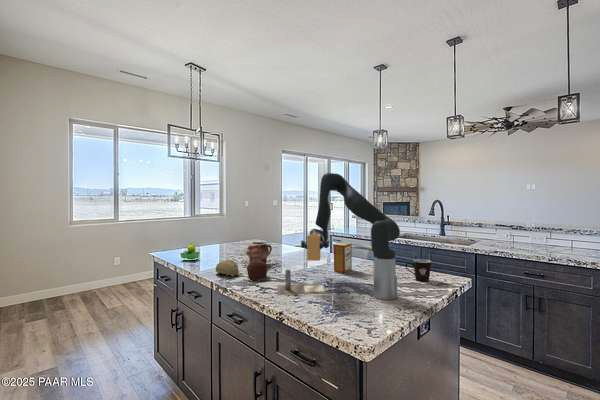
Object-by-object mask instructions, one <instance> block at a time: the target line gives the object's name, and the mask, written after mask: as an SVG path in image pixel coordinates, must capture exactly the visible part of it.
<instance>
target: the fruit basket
mask: <svg viewBox="0 0 600 400" xmlns="http://www.w3.org/2000/svg"><path fill="white" fill-rule="evenodd" d="M200 253H201V252H200V251H196V244H195V243H193V242H191V243H190V244H189V245H188V246H187V251H183V252H180V253H179V254H180V257H181V259H182V258H187V259H195V258H198V259H199V257H200Z"/></svg>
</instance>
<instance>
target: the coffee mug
mask: <svg viewBox="0 0 600 400" xmlns="http://www.w3.org/2000/svg"><path fill="white" fill-rule="evenodd" d="M412 260H413V263H412V262H406V263H405V268H406V269H407V271H408V272H410V273H412V274H413V275H414V278H415V281H417V282H420V283H428V282H429V281H430V274H431V267H432V260H431V259H423V258H416V259H412ZM409 264H410V265H412V266H413V268H414V269H413V270H414V271H411V270H410V268H408V267H407V266H408V265H409Z"/></svg>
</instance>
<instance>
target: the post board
mask: <svg viewBox="0 0 600 400" xmlns="http://www.w3.org/2000/svg"><path fill="white" fill-rule="evenodd" d="M284 271H285V272H284V274H285V275H284V277H285V278H284V279H285V280H284V281H285V282H284V283H285V284H277V287H276V296H280V295H281V296H283V295H285V296H286V295H290V296H291V295H294V296H295V295H326V294H328V292H327V290H326V288H325V284H324V283H314V284H313V283H312V284H309V283H308V284H307V283H306V284H291V282H292V281H291V278H292V276H291V271H292V270H291V269H289V268H288V269H287V268H285V270H284Z"/></svg>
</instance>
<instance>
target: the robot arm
mask: <svg viewBox="0 0 600 400" xmlns="http://www.w3.org/2000/svg"><path fill="white" fill-rule="evenodd" d="M319 187H320V189H319V203H318V210H317V214H316V219H315V226H317V227H319V228H321V229H322V230H321V229H318V228H312V229H311V230H310V231H309V234H320V250H322V249H328V248H329V247H330V240H329V228H328V227H329V223H330V218H331V213H332V212H331V205H330V202H329V195H330V192H333V191H334V192H337V193H339V194H340V195H341V196H342V197H343V201H344V204H345V206H346V208H347V209H348V210H349V211H350V212H351V213H352V214H354V216H356V217H357V218H359V219H363V221H366V222H369V223H370V224H372V225H371V227H370V241H371V242H370V243H371V250H372V253H373V297H375V298H376V299H379V300H385V301H387V300H388V301H390V300H394V299H398V275H396V274H397V273H396V251H395V250H394V249H391V248H390V246H389V242H392V241H395V240H398V238H399V236H400V234H401V231H400V226H398V223H397V222H396V221H395V220H393V219H391V218H390V217H389V216H387V215H386V214H384V213H383V212H382V211H380V210H379V209H378V208H377V207H376V206H374V205H373V204H372V202H370V201H369V200H368V199H367V198H365V196H363V195H362V194H361V193H359V192H358V191H357V190H356V188H354V187H353V186H352V185H351V184H350V183H348V181H347V180H346V179H345V177H344V176H342V175H341V174H339V173H334V172H326V173H324V174H322V177H321V179H320V186H319ZM300 246H301V248H302V249H303V248H304V249H305V250H307V241H305V240H303V239H302V240H301V241H300Z"/></svg>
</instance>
